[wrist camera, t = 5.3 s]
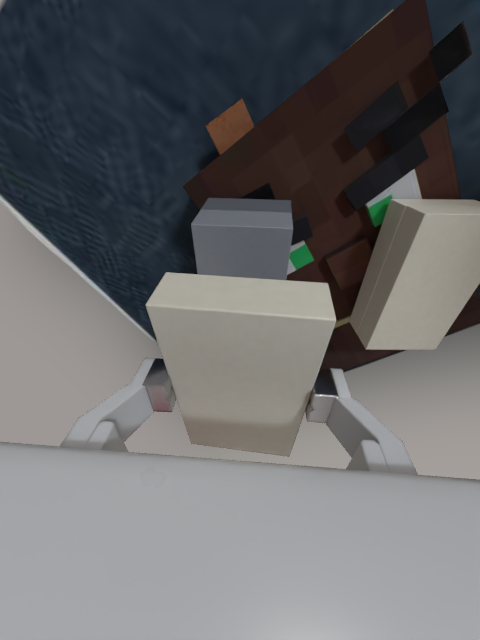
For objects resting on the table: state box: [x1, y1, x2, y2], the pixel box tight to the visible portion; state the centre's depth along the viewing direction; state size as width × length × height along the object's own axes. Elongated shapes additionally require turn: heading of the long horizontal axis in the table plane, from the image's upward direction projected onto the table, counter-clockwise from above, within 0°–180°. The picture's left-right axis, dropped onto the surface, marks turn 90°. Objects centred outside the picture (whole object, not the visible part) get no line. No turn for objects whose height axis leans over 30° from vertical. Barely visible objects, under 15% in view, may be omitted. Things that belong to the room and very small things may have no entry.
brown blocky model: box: [183, 0, 480, 370], centre depth 24 cm, size 19×8×30 cm
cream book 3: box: [357, 206, 480, 350], centre depth 19 cm, size 11×6×2 cm, turn 179°
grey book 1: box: [201, 198, 292, 213], centre depth 21 cm, size 11×6×2 cm, turn 0°
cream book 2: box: [349, 199, 480, 334], centre depth 21 cm, size 11×6×2 cm, turn 179°
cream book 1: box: [146, 272, 336, 457], centre depth 12 cm, size 11×6×2 cm, turn 0°
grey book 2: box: [191, 210, 293, 280], centre depth 19 cm, size 11×6×2 cm, turn 0°
